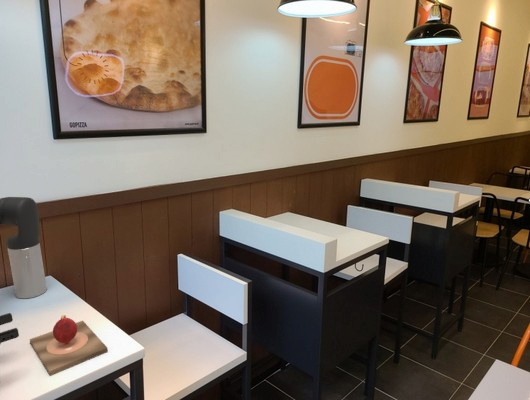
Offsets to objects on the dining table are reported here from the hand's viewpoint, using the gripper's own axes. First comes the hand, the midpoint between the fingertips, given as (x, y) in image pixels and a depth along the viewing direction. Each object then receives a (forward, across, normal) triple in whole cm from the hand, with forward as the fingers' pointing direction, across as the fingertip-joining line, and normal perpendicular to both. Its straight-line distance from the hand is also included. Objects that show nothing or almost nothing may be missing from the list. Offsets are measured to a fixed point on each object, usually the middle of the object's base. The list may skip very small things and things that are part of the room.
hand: (15, 324), depth 101 cm
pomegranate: (+11, 0, +10) cm, 15 cm away
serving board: (+11, 0, +11) cm, 15 cm away
